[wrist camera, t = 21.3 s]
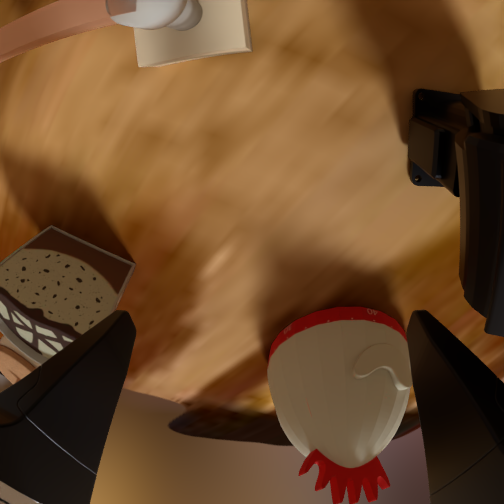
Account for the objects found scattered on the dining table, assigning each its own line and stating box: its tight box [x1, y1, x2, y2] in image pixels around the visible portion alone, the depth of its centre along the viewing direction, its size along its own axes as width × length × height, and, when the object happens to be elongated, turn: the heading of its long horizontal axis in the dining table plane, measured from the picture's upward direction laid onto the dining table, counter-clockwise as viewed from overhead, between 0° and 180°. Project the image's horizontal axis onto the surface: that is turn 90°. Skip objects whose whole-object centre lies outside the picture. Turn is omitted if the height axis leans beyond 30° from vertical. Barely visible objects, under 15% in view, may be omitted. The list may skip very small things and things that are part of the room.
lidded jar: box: [0, 336, 41, 384], centre depth 31 cm, size 11×11×9 cm
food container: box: [0, 225, 136, 365], centre depth 22 cm, size 12×6×10 cm, turn 68°
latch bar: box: [0, 0, 187, 63], centre depth 9 cm, size 4×14×2 cm, turn 87°
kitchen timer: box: [268, 307, 412, 504], centre depth 22 cm, size 14×14×15 cm
